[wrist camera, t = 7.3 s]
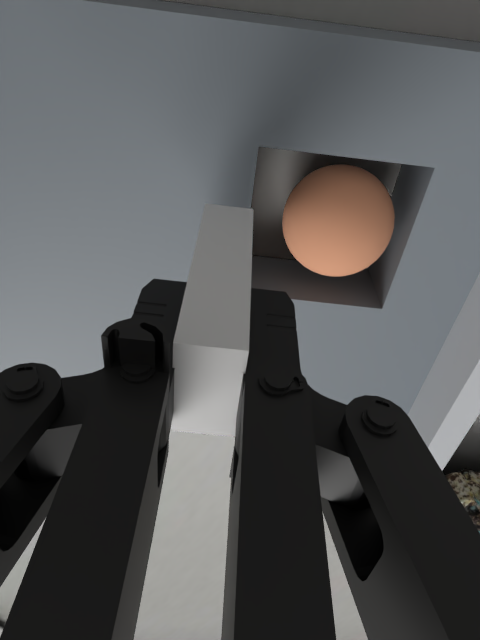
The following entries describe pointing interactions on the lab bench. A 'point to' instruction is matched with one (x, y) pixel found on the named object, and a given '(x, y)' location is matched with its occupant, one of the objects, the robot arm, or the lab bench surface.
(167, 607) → the lab bench surface
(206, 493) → the lab bench surface
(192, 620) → the lab bench surface
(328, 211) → the ball
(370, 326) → the grey flat block
